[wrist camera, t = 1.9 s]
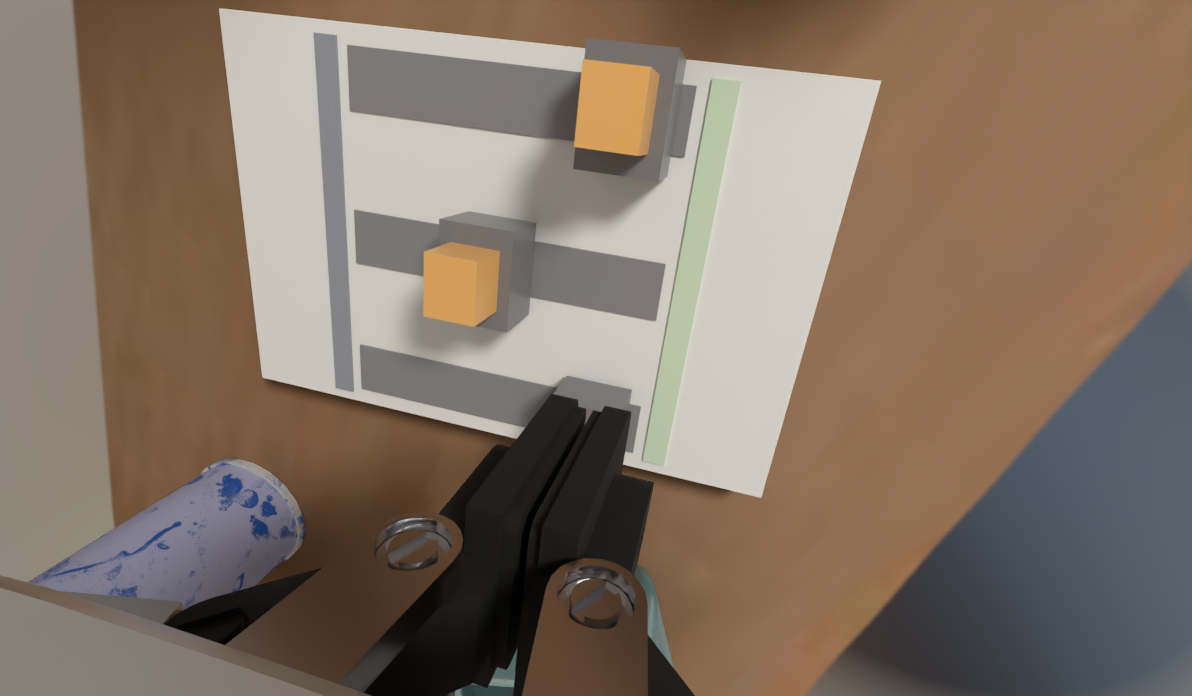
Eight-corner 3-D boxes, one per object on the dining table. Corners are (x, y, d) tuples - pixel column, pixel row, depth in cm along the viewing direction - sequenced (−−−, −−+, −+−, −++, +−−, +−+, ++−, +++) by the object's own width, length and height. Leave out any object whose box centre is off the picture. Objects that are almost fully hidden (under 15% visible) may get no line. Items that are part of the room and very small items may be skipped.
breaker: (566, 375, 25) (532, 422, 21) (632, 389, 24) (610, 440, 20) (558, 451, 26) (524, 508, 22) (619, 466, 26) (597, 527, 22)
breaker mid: (468, 211, 23) (410, 226, 19) (536, 222, 23) (491, 240, 18) (465, 301, 25) (410, 334, 20) (528, 314, 24) (486, 350, 20)
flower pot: (558, 657, 34) (502, 820, 26) (520, 539, 32) (444, 679, 23) (700, 661, 32) (687, 843, 23) (671, 533, 29) (645, 687, 21)
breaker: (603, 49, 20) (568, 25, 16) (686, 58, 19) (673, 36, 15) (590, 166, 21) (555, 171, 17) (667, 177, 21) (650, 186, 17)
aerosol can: (189, 511, 38) (-327, 860, 19) (219, 435, 34) (-367, 768, 16) (282, 578, 38) (-142, 988, 19) (321, 509, 34) (-144, 922, 16)
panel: (257, 18, 25) (216, 7, 23) (868, 86, 20) (882, 80, 18) (290, 363, 31) (260, 378, 29) (759, 473, 27) (761, 499, 25)
